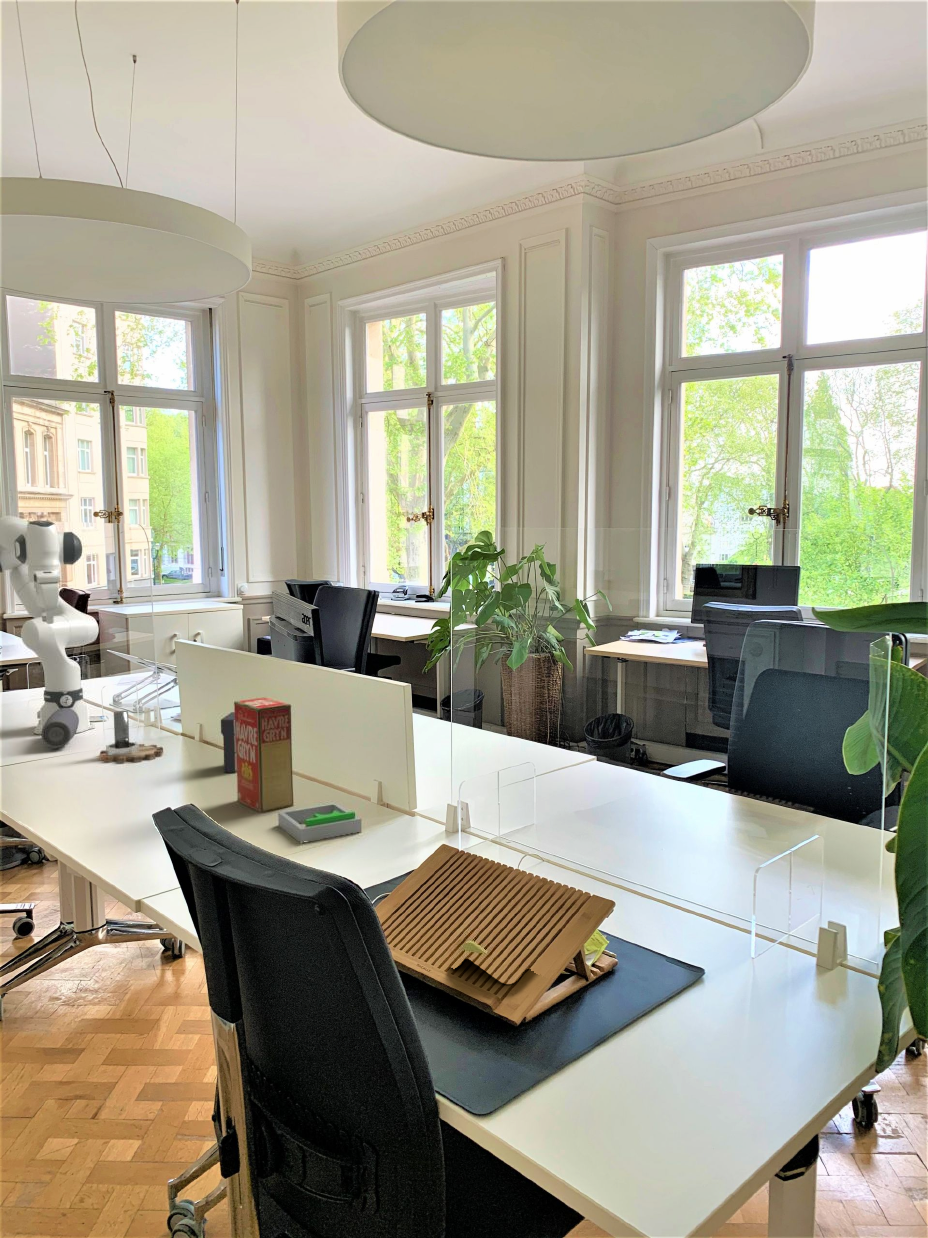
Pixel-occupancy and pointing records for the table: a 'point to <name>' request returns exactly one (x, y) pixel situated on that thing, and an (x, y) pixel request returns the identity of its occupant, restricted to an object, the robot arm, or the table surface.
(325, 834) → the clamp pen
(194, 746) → the table surface
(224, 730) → the charcoal rounded block
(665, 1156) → the table surface
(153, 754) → the sprocket
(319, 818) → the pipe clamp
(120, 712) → the pin
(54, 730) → the bluetooth speaker
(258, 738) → the food packaging
